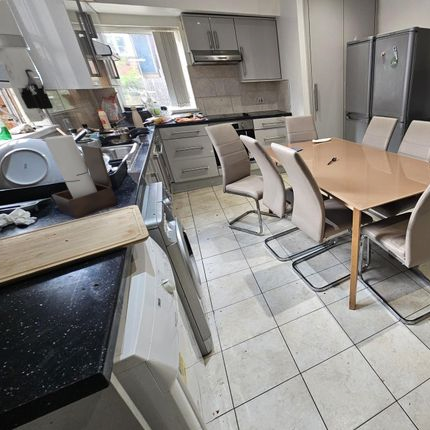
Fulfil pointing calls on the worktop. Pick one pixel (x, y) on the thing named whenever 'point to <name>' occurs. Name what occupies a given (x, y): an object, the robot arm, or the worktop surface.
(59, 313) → the worktop surface
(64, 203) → the chest
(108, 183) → the lid
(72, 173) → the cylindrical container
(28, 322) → the worktop surface
